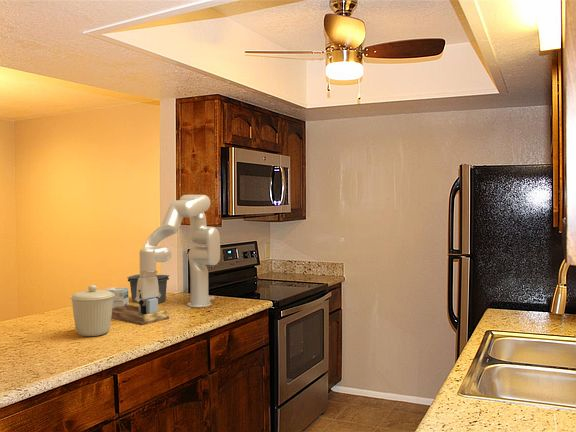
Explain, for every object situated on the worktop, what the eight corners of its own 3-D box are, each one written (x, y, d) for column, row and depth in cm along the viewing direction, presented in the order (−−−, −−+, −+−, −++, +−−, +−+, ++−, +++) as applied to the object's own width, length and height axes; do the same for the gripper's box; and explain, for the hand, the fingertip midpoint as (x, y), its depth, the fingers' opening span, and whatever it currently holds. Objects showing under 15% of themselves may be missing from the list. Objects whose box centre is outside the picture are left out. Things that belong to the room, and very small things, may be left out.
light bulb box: (129, 307, 287) (129, 287, 286) (124, 310, 280) (123, 289, 279) (109, 307, 288) (109, 287, 287) (104, 310, 281) (103, 289, 280)
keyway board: (129, 310, 279) (129, 302, 279) (169, 318, 262) (169, 310, 261) (102, 316, 266) (102, 307, 266) (142, 325, 249) (142, 316, 248)
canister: (81, 328, 243) (80, 281, 242) (121, 328, 243) (120, 281, 242) (63, 339, 225) (62, 288, 224) (106, 339, 225) (105, 288, 224)
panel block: (147, 313, 263) (146, 296, 262) (158, 315, 258) (157, 298, 258) (138, 315, 259) (138, 298, 258) (149, 317, 254) (149, 300, 254)
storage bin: (124, 303, 298) (124, 277, 298) (138, 297, 313) (138, 273, 313) (161, 305, 294) (160, 278, 293) (173, 299, 309) (172, 274, 308)
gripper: (156, 271, 267) (157, 308, 267) (128, 276, 253) (128, 314, 254) (167, 273, 262) (167, 310, 263) (138, 277, 248) (138, 317, 249)
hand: (148, 312), depth 258 cm, fingers closed on panel block, 4 cm apart
